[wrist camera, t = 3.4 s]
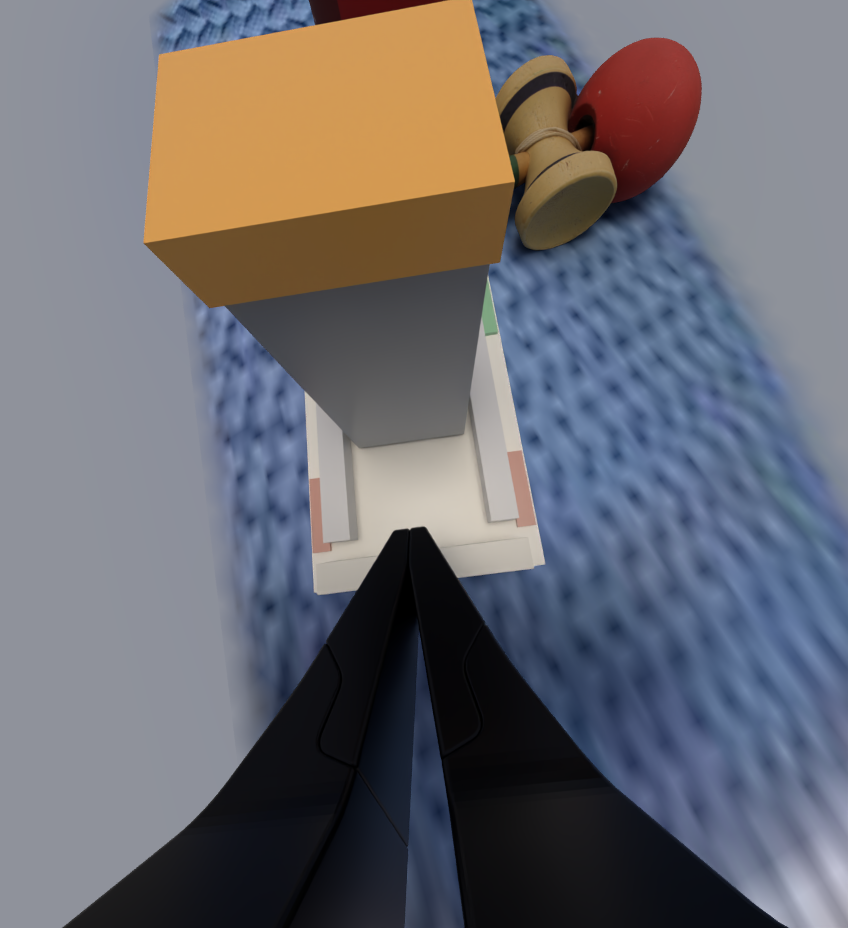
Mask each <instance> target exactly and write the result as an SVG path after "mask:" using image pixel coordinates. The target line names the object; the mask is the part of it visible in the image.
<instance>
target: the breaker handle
mask: <svg viewBox="0 0 848 928" xmlns="http://www.w3.org/2000/svg"><path fill="white" fill-rule="evenodd" d="M153 124H154V125H153V136H152V147H151V160H150V171H149V172H150V173H149V185H148V196H147V209H146V220H145V232H144V244H145V245H146V246H147V247H148V248H149V249H150V250H151V251H152V252H153V253H154V254H155V255H156V256H157V257H158V258H159V259H160V260H161V261H162V262H163V263H164V264H165V265H166V266H167V267H168V268H169V269H170V270H171V271H172V272H173V273H174V274H175V275H176V276H177V277H179V279H180V280H181V281H182V282H183V283H184V284H185V285H186V286H187V287H189V288H190V289H191V290H192V291H193V292H194V293H195V294H196V295H197V296H198V297H199V298H200V299H201V300H202V301H203V302H204V303H205V304H206V305H207V306H208V307H209V308H213V307H220V306H225V307H226V308H227V309H228V310H229V311H230V312H231V313H232V314H233V315H234V316H235V317H236V318H237V319H238V320H239V322H240V323H241V324H242V325H243V326H244V327H245V328H246V329H247V330H248V331H249V332H250V333H251V334H252V335H253V336H254V337H255V338H256V340H257V341H258V342H259V343H260V344H261V345H262V346H263V347H264V348H265V349H266V350H267V351H268V352H269V353H270V354H271V355H272V357H273V358H274V359H275V360H276V361H277V362H278V363H279V364H280V365H281V366H282V367H283V368H284V369H285V370H286V371H287V372H288V374H289V375H290V376H291V377H292V378H293V379H294V380H295V381H296V382H297V383H298V384H299V385H300V386H301V387H302V388H303V389H304V391H305V392H306V393H307V394H308V395H309V396H310V397H311V398H312V399H313V400H314V401H315V402H316V403H317V404H318V405H319V406H320V407H321V409H322V410H323V411H324V412H325V413H326V414H327V415H328V416H329V417H330V418H331V419H332V420H333V421H334V422H335V423H336V424H337V426H338V427H339V428H340V429H341V430H342V431H343V432H344V433H345V434H346V435H347V436H348V437H349V438H350V439H351V440H352V441H353V443H354V444H355V445H356V446H357V447H358V448H364V447H372V446H379V445H386V444H393V443H400V442H408V441H415V440H422V439H429V438H436V437H444V436H451V435H458V434H464V430H465V424H466V417H467V410H468V404H469V397H470V390H471V384H472V377H473V370H474V364H475V357H476V350H477V344H478V337H479V330H480V324H481V317H482V311H483V304H484V297H485V291H486V284H487V277H488V271H489V264H493V263H499V262H500V259H501V254H502V249H503V243H504V238H505V233H506V227H507V222H508V216H509V211H510V206H511V200H512V195H513V190H514V184H515V179H514V175H513V171H512V167H511V163H510V158H509V154H508V150H507V146H506V142H505V137H504V133H503V129H502V125H501V121H500V116H499V112H498V108H497V104H496V100H495V96H494V91H493V87H492V83H491V79H490V75H489V70H488V66H487V62H486V58H485V54H484V49H483V45H482V41H481V37H480V33H479V28H478V24H477V20H476V16H475V12H474V7H473V3H472V0H448V1H442V2H437V3H432V4H426V5H421V6H416V7H410V8H405V9H400V10H394V11H389V12H384V13H378V14H373V15H368V16H362V17H357V18H352V19H346V20H341V21H336V22H330V23H325V24H320V25H314V26H309V27H304V28H298V29H293V30H288V31H282V32H277V33H272V34H266V35H261V36H256V37H250V38H245V39H240V40H234V41H229V42H224V43H218V44H213V45H208V46H202V47H197V48H192V49H186V50H181V51H176V52H170V53H165V54H160V55H159V63H158V75H157V87H156V100H155V111H154V123H153Z"/></svg>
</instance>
